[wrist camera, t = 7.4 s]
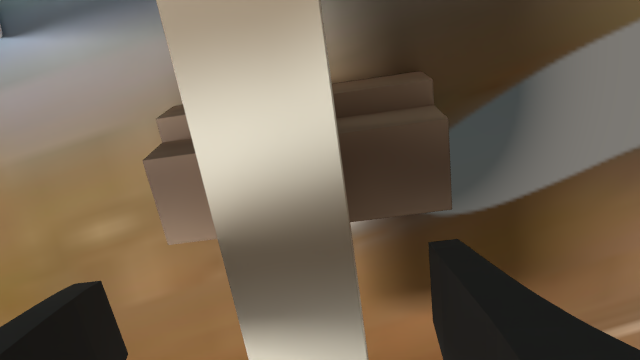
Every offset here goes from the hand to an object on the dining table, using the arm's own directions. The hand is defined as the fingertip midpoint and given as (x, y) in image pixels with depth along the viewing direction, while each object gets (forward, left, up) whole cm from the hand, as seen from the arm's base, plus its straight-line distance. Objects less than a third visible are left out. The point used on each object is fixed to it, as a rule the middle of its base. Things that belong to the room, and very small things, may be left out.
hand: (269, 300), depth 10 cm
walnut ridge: (0, 0, -10) cm, 10 cm away
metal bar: (0, 0, -6) cm, 6 cm away
